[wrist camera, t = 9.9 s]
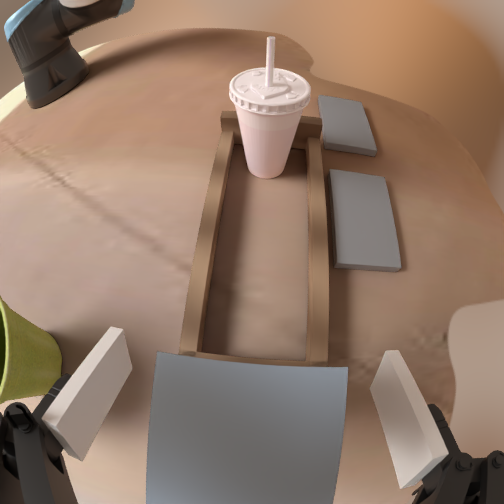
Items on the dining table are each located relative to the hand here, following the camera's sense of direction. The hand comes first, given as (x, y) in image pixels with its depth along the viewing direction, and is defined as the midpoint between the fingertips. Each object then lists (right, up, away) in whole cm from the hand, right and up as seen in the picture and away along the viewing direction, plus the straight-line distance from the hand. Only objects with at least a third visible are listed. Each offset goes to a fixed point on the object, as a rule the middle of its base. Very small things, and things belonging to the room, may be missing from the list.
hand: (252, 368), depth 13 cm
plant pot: (-19, -5, +6) cm, 21 cm away
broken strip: (+11, +15, +15) cm, 24 cm away
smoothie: (+1, +14, +15) cm, 21 cm away
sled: (+1, +6, +11) cm, 12 cm away
